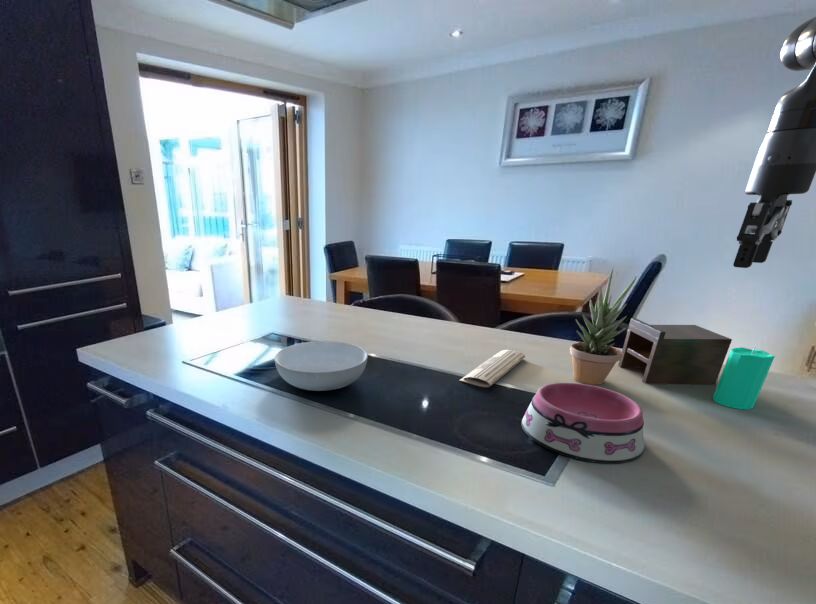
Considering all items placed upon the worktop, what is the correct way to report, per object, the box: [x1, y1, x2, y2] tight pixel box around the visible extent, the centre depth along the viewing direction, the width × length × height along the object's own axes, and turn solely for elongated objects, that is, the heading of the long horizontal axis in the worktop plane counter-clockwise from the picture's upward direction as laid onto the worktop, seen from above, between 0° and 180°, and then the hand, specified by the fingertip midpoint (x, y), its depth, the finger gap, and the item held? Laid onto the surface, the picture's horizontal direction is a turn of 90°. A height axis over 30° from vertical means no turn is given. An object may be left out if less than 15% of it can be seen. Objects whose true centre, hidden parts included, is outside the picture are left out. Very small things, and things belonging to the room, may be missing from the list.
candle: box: [712, 344, 776, 410], centre depth 84 cm, size 6×6×12 cm
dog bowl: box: [520, 382, 645, 464], centre depth 76 cm, size 18×19×7 cm
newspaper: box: [458, 349, 526, 388], centre depth 106 cm, size 24×7×2 cm, turn 138°
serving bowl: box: [274, 340, 368, 392], centre depth 100 cm, size 21×21×7 cm
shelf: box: [618, 317, 733, 386], centre depth 98 cm, size 14×11×12 cm
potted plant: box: [569, 267, 638, 385], centre depth 94 cm, size 10×10×25 cm
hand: (749, 264), depth 78 cm, fingers open, 8 cm apart
